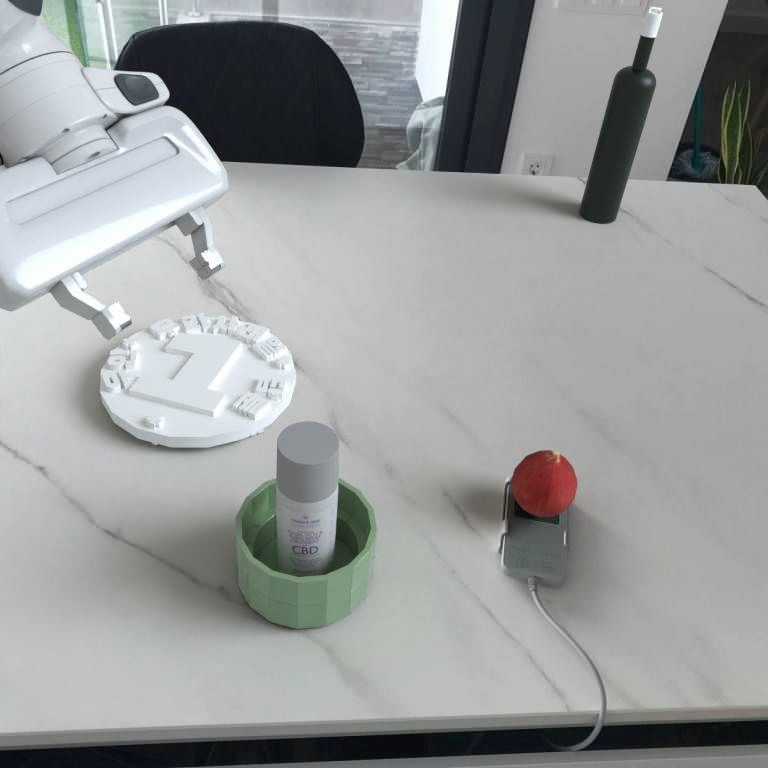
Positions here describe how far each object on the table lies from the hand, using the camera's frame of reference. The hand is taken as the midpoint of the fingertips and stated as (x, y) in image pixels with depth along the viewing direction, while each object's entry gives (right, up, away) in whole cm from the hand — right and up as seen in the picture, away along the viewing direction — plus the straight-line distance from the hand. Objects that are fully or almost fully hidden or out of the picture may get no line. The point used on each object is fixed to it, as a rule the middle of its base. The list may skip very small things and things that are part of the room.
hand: (170, 301), depth 55 cm
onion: (+29, -18, +18) cm, 39 cm away
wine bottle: (+49, +20, +66) cm, 84 cm away
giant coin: (-4, -6, +27) cm, 28 cm away
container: (+9, -22, +10) cm, 25 cm away
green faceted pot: (+9, -22, +10) cm, 26 cm away
